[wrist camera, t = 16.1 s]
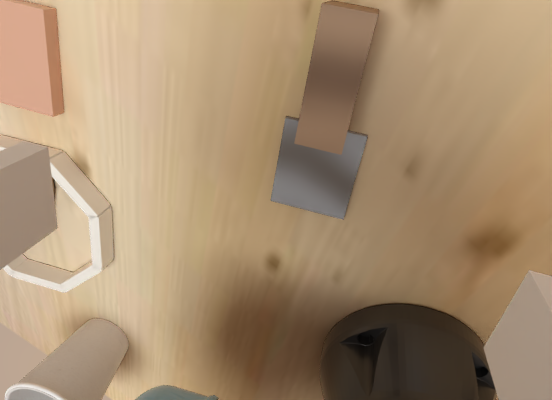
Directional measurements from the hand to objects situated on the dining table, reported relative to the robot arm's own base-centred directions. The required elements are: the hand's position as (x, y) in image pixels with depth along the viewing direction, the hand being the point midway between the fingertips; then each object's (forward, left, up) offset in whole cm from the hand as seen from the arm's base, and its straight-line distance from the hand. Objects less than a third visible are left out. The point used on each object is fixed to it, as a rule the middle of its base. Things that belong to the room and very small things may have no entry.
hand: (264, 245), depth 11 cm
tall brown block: (-2, 0, -20) cm, 20 cm away
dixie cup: (-33, +19, -20) cm, 43 cm away
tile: (+1, +25, -19) cm, 31 cm away
